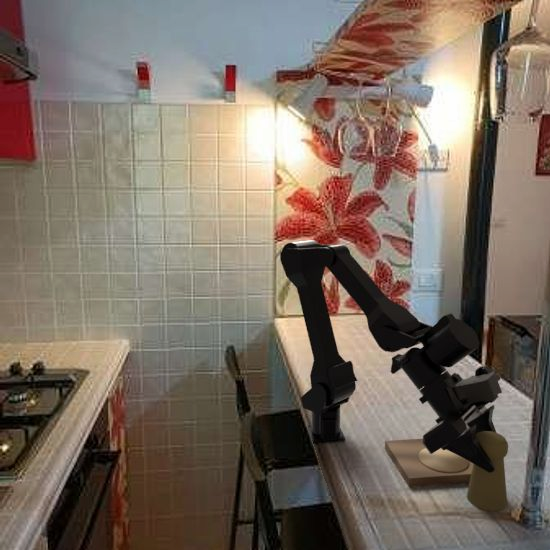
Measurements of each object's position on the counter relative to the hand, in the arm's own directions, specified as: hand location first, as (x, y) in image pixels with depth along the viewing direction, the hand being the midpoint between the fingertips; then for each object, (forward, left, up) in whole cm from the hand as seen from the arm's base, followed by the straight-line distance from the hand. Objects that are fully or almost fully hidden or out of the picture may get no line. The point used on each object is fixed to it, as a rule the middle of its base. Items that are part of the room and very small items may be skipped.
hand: (498, 463), depth 84 cm
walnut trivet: (-12, -5, -7) cm, 15 cm away
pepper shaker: (-1, -1, -7) cm, 7 cm away
